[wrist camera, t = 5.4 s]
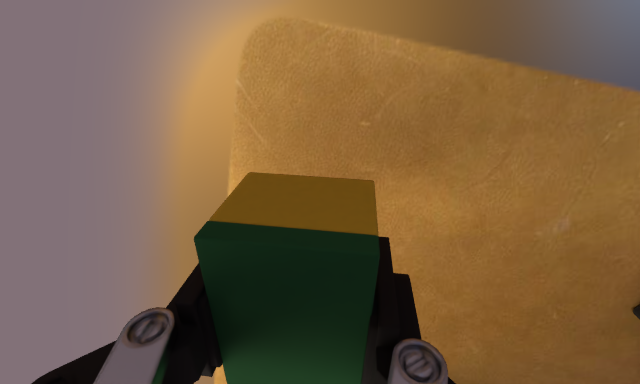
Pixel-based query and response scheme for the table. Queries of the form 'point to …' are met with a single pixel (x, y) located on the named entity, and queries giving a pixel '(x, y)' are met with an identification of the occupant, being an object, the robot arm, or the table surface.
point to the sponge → (292, 278)
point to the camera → (637, 311)
